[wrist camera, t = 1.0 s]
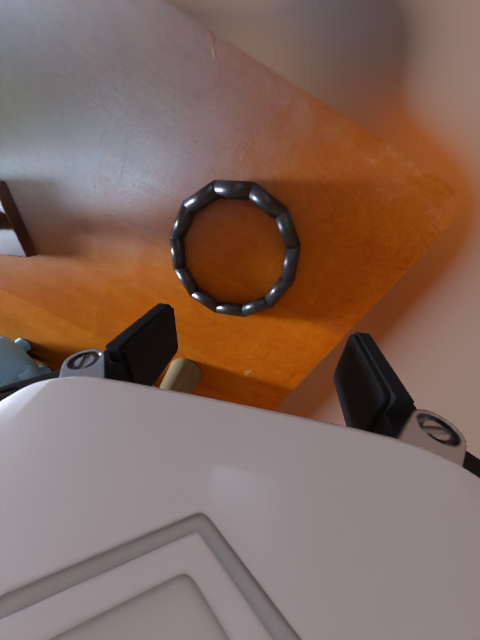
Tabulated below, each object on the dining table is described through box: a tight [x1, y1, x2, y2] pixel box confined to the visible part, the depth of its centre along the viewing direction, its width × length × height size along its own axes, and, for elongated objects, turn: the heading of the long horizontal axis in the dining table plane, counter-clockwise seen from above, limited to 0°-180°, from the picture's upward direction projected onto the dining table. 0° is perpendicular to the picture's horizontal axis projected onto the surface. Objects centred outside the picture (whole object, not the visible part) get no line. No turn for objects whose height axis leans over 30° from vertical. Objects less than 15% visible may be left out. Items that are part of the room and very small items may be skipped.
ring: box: [170, 180, 301, 317], centre depth 24 cm, size 15×15×2 cm
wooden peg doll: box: [159, 358, 202, 394], centre depth 32 cm, size 6×6×11 cm
